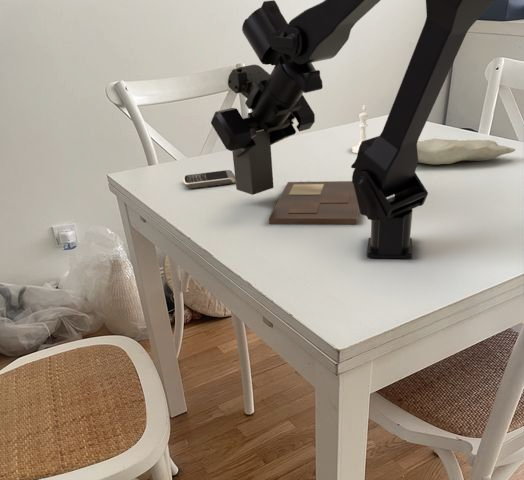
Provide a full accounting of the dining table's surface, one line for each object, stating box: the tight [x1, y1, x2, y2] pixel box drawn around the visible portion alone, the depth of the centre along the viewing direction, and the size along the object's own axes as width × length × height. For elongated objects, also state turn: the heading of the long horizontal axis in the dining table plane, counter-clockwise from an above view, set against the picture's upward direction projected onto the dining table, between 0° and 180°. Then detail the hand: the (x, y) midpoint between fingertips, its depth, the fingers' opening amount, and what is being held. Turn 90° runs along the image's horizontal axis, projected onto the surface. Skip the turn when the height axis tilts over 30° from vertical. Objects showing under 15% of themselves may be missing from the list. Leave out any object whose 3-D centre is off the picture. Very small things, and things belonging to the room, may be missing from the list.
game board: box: [268, 180, 360, 225], centre depth 99 cm, size 20×15×1 cm
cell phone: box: [182, 169, 236, 190], centre depth 115 cm, size 6×11×1 cm, turn 99°
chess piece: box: [351, 104, 369, 154], centre depth 124 cm, size 5×5×10 cm
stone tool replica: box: [417, 138, 516, 166], centre depth 113 cm, size 15×5×25 cm
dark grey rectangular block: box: [231, 116, 274, 196], centre depth 97 cm, size 5×5×12 cm
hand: (247, 151), depth 98 cm, fingers closed on dark grey rectangular block, 5 cm apart
